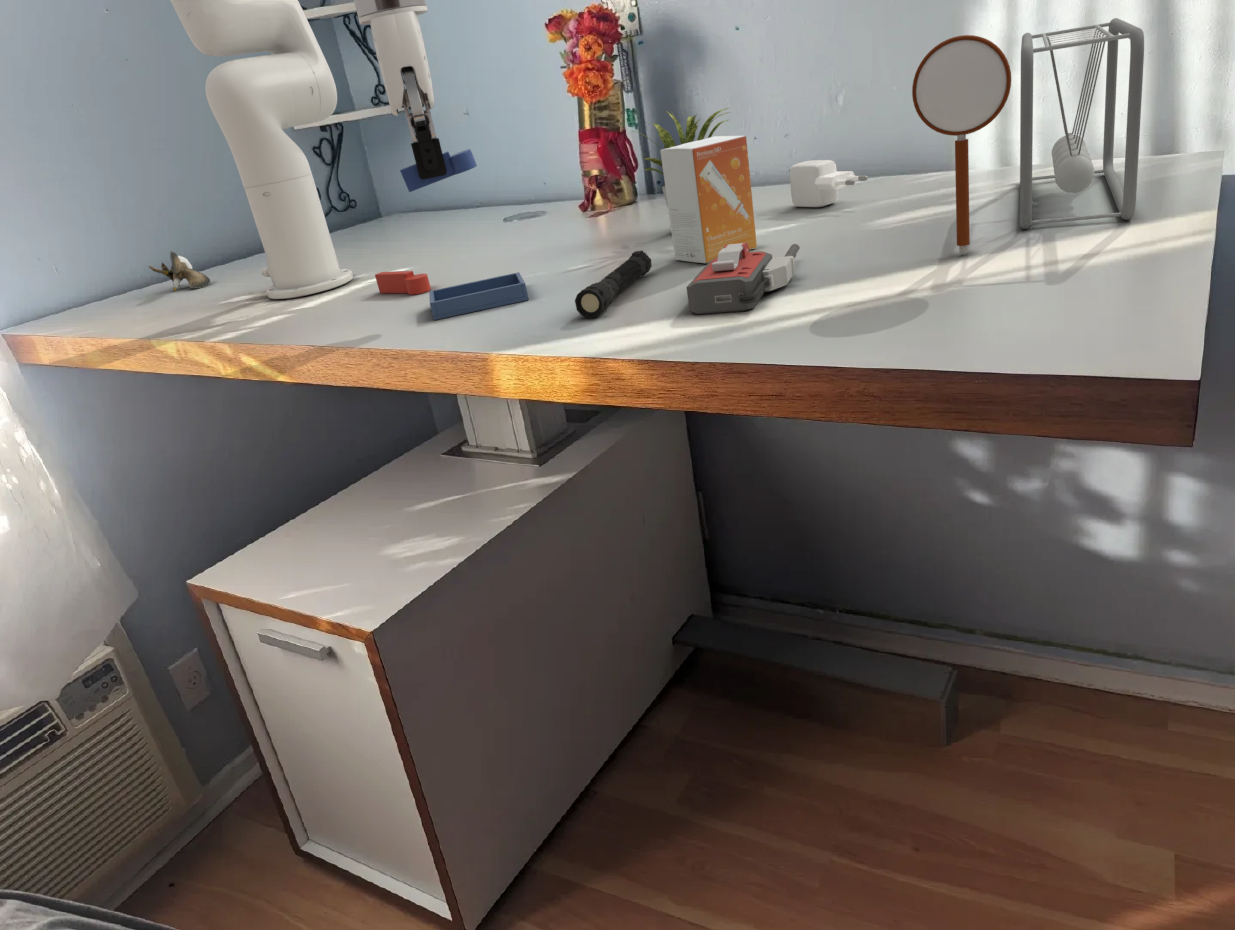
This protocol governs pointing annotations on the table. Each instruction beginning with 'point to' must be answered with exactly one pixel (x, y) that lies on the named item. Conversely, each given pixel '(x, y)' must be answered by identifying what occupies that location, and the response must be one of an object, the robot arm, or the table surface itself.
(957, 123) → the magnifying glass
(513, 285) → the blue tray
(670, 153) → the small box
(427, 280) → the red block with cylinder
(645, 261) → the flashlight
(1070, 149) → the newton's cradle
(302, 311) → the table surface
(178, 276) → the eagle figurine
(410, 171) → the blue block with cylinder
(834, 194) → the power adapter
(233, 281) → the table surface
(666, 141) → the house plant
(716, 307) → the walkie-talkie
